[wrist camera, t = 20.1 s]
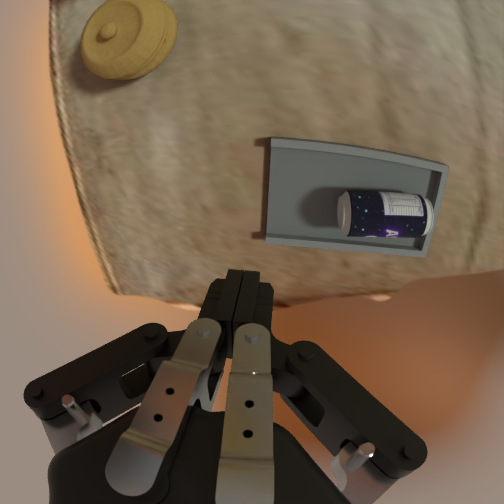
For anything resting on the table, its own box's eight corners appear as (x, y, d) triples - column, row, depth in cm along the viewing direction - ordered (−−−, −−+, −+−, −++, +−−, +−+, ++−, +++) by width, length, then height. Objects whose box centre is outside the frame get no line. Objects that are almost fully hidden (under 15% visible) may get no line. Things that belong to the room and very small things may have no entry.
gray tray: (266, 236, 40) (265, 243, 39) (271, 136, 33) (271, 138, 32) (420, 251, 39) (425, 257, 37) (442, 163, 32) (449, 166, 30)
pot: (167, 89, 31) (129, 88, 23) (99, 72, 30) (53, 73, 21) (201, 11, 26) (173, -14, 17) (127, 1, 24) (87, -16, 16)
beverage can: (344, 236, 31) (435, 238, 30) (343, 186, 31) (434, 191, 29) (336, 236, 37) (416, 237, 35) (335, 193, 36) (415, 197, 35)
